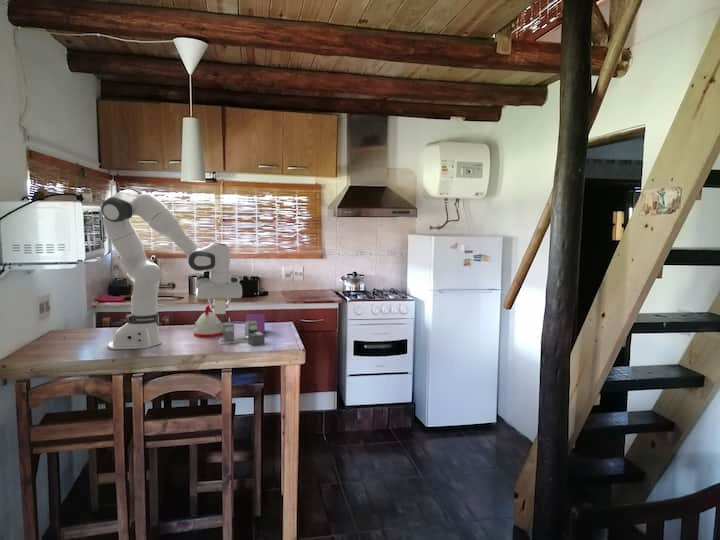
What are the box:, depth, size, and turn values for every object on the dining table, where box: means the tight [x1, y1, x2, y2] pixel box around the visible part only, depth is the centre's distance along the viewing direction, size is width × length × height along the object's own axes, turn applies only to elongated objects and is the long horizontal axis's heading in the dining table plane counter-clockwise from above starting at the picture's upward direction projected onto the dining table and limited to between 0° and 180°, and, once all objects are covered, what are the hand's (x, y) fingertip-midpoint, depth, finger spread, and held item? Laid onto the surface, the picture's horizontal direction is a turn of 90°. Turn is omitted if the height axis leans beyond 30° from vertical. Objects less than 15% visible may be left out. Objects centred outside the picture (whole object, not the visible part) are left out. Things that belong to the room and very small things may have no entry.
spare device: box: [247, 332, 265, 347], centre depth 229 cm, size 6×5×5 cm
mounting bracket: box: [244, 313, 266, 335], centre depth 251 cm, size 9×8×18 cm
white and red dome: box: [193, 305, 222, 339], centre depth 246 cm, size 14×14×15 cm
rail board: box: [217, 320, 258, 345], centre depth 234 cm, size 20×7×9 cm, turn 116°
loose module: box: [212, 298, 227, 315], centre depth 220 cm, size 5×4×7 cm
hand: (219, 308), depth 220 cm, fingers closed on loose module, 5 cm apart
